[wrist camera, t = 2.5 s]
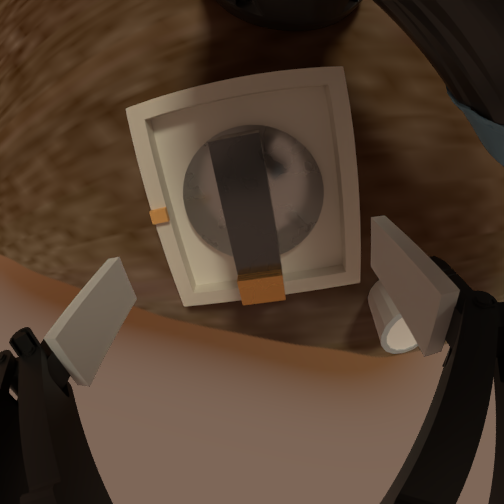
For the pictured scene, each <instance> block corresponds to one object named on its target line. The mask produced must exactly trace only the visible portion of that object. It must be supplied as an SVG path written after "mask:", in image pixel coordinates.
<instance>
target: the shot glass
mask: <svg viewBox="0 0 504 504" xmlns="http://www.w3.org/2000/svg"><path fill="white" fill-rule="evenodd" d="M368 304H369V307H370V310H371V313H372V316H373V320H374V323H375V326H376V329H377V333H378V336H379V339H380V343H381V346H382V347H383V348H384V349H385V351H387V352H390V353H393V354H396V353H404V352H407V351H410V350H412V349H414V348H416V347H417V346H418V344H417V342H416V340H415V339H414V337H413V335H412V333H411V332H410V330H409V328H408V326H407V325H406V323H405V321H404V319H403V318H402V316H401V314H400V313H399V311H398V309H397V307H396V306H395V304H394V303H393V301H392V299H391V298H390V296H389V294H388V293H387V291H386V290H385V288H384V286H383V285H382V283H381V282H380V280H378V281H377V282H376V283H375V284H374V285H373V287H372V288H371V289H370V292H369V295H368Z"/></svg>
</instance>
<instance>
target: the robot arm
mask: <svg viewBox="0 0 504 504" xmlns="http://www.w3.org/2000/svg"><path fill="white" fill-rule="evenodd" d="M216 1H217V2H218V3H219V4H220V5H221V6H222V7H223V8H224V9H226V10H227V11H228V12H230V13H231V14H233V15H235V16H236V17H238V18H240V19H242V20H244V21H247V22H249V23H252V24H255V25H258V26H262V27H266V28H270V29H276V30H286V31H304V30H313V29H318V28H322V27H326V26H329V25H332V24H334V23H336V22H338V21H340V20H342V19H343V18H345V17H346V16H348V15H349V14H350V13H351V12H352V11H353V10H354V9H355V8H356V7H357V6H358V5H359V4H360V2H361V1H362V0H216ZM373 1H374V2H375V3H376V4H377V5H378V6H379V7H380V8H381V9H383V10H384V11H385V12H386V13H387V14H388V15H389V16H390V17H391V18H392V19H393V20H394V21H395V22H396V23H397V24H398V26H399V27H400V28H401V29H402V30H403V31H404V32H405V33H406V34H407V35H408V36H409V37H410V39H411V40H412V41H413V42H414V43H415V44H416V46H417V47H418V48H419V49H420V50H421V52H422V53H423V54H424V55H425V56H426V58H427V59H428V60H429V62H430V63H431V64H432V66H433V67H434V68H435V70H436V71H437V73H438V74H439V75H440V77H441V78H442V80H443V81H444V83H445V84H446V88H447V93H448V95H449V97H450V98H451V100H452V101H453V103H454V104H455V105H456V106H457V107H458V108H459V109H460V110H462V111H463V113H464V114H465V116H466V117H467V119H468V121H469V122H470V124H471V125H472V127H473V129H474V130H475V132H476V134H477V136H478V137H479V139H480V141H481V142H482V144H483V145H484V147H485V148H486V150H487V151H488V152H489V153H490V154H491V156H492V157H493V158H494V159H495V160H496V161H498V162H499V163H500V164H501V165H502V166H503V167H504V0H373ZM371 268H372V269H373V271H374V272H375V274H376V275H377V277H378V278H379V280H380V282H381V283H382V285H383V286H384V288H385V290H386V291H387V293H388V294H389V296H390V298H391V299H392V301H393V303H394V304H395V306H396V307H397V309H398V311H399V313H400V314H401V316H402V318H403V319H404V321H405V323H406V325H407V326H408V328H409V330H410V332H411V333H412V335H413V337H414V339H415V340H416V342H417V344H418V346H419V348H420V350H421V352H422V353H423V355H424V357H425V356H429V355H432V354H435V353H438V352H441V350H442V348H443V345H444V342H445V339H446V341H447V343H448V344H449V346H450V349H449V351H448V353H447V356H446V359H445V361H444V364H443V367H444V368H443V371H442V374H441V377H440V380H439V384H438V386H437V389H436V392H435V395H434V397H433V400H432V403H431V405H430V408H429V411H428V413H427V416H426V418H425V421H424V423H423V425H422V427H421V430H420V432H419V434H418V436H417V438H416V441H415V443H414V445H413V447H412V449H411V451H410V453H409V455H408V457H407V459H406V461H405V463H404V464H403V466H402V468H401V470H400V472H399V473H398V475H397V477H396V479H395V480H394V482H393V484H392V485H391V487H390V489H389V490H388V492H387V494H386V495H385V497H384V498H383V500H382V501H381V503H380V504H456V502H457V500H458V498H459V496H460V493H461V491H462V489H463V487H464V484H465V481H466V479H467V477H468V474H469V471H470V469H471V466H472V463H473V460H474V457H475V454H476V451H477V448H478V445H479V442H480V438H481V435H482V431H483V427H484V423H485V419H486V415H487V410H488V406H489V401H490V395H491V389H492V384H493V377H494V385H495V400H496V447H495V461H494V472H493V479H492V486H491V493H490V498H489V504H504V302H497V301H496V299H495V298H494V297H493V296H492V295H490V294H489V293H486V292H483V291H473V290H472V289H471V288H470V287H469V286H468V285H467V284H466V283H465V281H464V280H463V279H462V278H461V277H460V276H459V275H458V274H456V272H455V271H454V270H453V269H451V267H450V266H449V265H448V264H447V263H446V262H445V261H443V260H441V259H440V258H438V257H436V256H432V257H428V256H427V255H426V254H425V253H424V252H423V251H422V250H421V249H420V248H419V247H418V246H417V245H416V244H415V243H414V242H413V241H412V240H411V239H410V238H409V237H408V236H407V235H406V234H405V233H404V232H403V231H401V230H400V229H399V228H398V227H397V226H396V225H395V224H394V223H393V222H392V221H390V220H389V219H388V218H387V217H386V216H385V215H384V216H376V217H371ZM136 299H137V298H136V296H135V293H134V291H133V289H132V286H131V284H130V282H129V279H128V277H127V275H126V272H125V270H124V267H123V265H122V262H121V260H120V257H116V258H111V259H108V260H107V261H106V262H105V263H104V265H103V266H102V267H101V268H100V269H99V270H98V271H97V272H96V274H95V275H94V276H93V277H92V278H91V279H90V280H89V282H88V283H87V284H86V285H85V286H84V288H83V289H82V290H81V291H80V292H79V294H78V295H77V296H76V297H75V298H74V300H73V301H72V302H71V303H70V305H69V306H68V307H67V308H66V310H65V311H64V312H63V313H62V315H61V316H60V317H59V318H58V320H57V321H56V322H55V324H54V325H53V326H52V328H51V329H50V330H49V332H48V333H47V335H46V336H45V337H44V339H43V341H42V342H41V344H40V343H39V341H38V340H37V338H36V337H35V335H34V334H33V332H32V330H31V329H30V328H29V327H25V328H22V329H20V330H19V331H18V332H16V333H15V334H14V335H13V336H12V338H11V339H10V342H9V343H10V345H11V346H12V348H13V349H14V351H15V352H16V353H17V355H18V356H19V357H17V358H15V357H14V356H13V354H12V353H11V351H9V350H4V351H3V352H0V504H113V503H112V501H111V499H110V497H109V495H108V492H107V490H106V488H105V486H104V484H103V481H102V479H101V477H100V474H99V472H98V470H97V467H96V465H95V462H94V459H93V457H92V454H91V451H90V448H89V446H88V443H87V440H86V437H85V434H84V430H83V427H82V424H81V421H80V417H79V414H78V410H77V406H76V402H75V398H74V394H73V390H72V387H71V385H70V383H69V382H68V379H69V377H70V376H71V377H72V378H73V380H74V381H75V382H76V383H77V385H82V386H90V385H91V383H92V381H93V379H94V377H95V375H96V373H97V371H98V369H99V367H100V365H101V363H102V361H103V359H104V357H105V355H106V353H107V351H108V350H109V348H110V346H111V344H112V342H113V340H114V338H115V336H116V334H117V333H118V331H119V329H120V327H121V326H122V324H123V322H124V320H125V318H126V317H127V315H128V313H129V311H130V310H131V308H132V306H133V304H134V303H135V301H136ZM10 388H11V389H12V390H13V392H14V393H15V394H16V395H17V396H18V399H17V400H15V399H14V398H13V397H12V396H11V395H10V393H9V389H10Z"/></svg>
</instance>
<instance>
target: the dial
mask: <svg viewBox="0 0 504 504" xmlns="http://www.w3.org/2000/svg"><path fill="white" fill-rule="evenodd" d="M323 199H324V186H323V180H322V176H321V173H320V169H319V167H318V165H317V163H316V161H315V159H314V158H313V156H312V155H311V153H310V152H309V151H308V150H307V148H306V147H305V146H304V145H303V144H302V143H300V142H299V141H298V140H297V139H296V138H294V137H292V136H291V135H289V134H288V133H286V132H283V131H281V130H279V129H276V128H273V127H269V126H264V125H242V126H237V127H233V128H230V129H227V130H225V131H222V132H220V133H219V134H217V135H215V136H213V137H212V138H211V139H209V140H208V141H207V142H205V143H204V144H203V145H202V146H201V147H200V149H199V150H198V151H197V152H196V154H195V155H194V156H193V158H192V160H191V162H190V163H189V165H188V168H187V171H186V174H185V178H184V183H183V201H184V206H185V210H186V213H187V216H188V218H189V220H190V222H191V224H192V226H193V227H194V229H195V230H196V232H197V233H198V234H199V235H200V236H201V238H202V239H204V240H205V241H206V242H207V243H208V244H209V245H211V246H212V247H214V248H215V249H217V250H219V251H220V252H222V253H225V254H227V255H230V256H233V257H234V261H235V266H236V270H237V274H238V278H237V284H238V288H239V292H240V296H241V300H242V304H243V305H250V304H258V303H266V302H274V301H281V300H286V297H285V288H284V280H283V272H282V264H281V256H280V255H281V254H283V253H285V252H287V251H289V250H291V249H292V248H294V247H296V246H297V245H298V244H299V243H301V242H302V241H303V240H304V239H305V238H306V237H307V236H308V235H309V233H310V232H311V231H312V229H313V228H314V226H315V224H316V223H317V221H318V218H319V216H320V213H321V210H322V206H323Z"/></svg>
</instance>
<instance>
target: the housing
mask: <svg viewBox="0 0 504 504" xmlns="http://www.w3.org/2000/svg"><path fill="white" fill-rule="evenodd" d="M126 113H127V118H128V122H129V127H130V131H131V136H132V140H133V144H134V148H135V152H136V157H137V160H138V164H139V168H140V172H141V176H142V180H143V183H144V187H145V190H146V194H147V197H148V201H149V204H150V208H151V211H150V212H149V213H150V216H151V219H152V223H153V224H156V227H157V231H158V234H159V237H160V240H161V243H162V246H163V249H164V252H165V255H166V258H167V261H168V264H169V267H170V270H171V272H172V275H173V278H174V281H175V284H176V286H177V289H178V292H179V294H180V297H181V300H182V302H183V305H184V307H185V306H195V305H204V304H214V303H223V302H231V301H240V300H241V296H240V292H239V288H238V284H237V278H238V274H237V270H236V266H235V261H234V257H233V256H230V255H227V254H225V253H222V252H220V251H219V250H217V249H215V248H214V247H212V246H211V245H209V244H208V243H207V242H206V241H205V240H204V239H202V238H201V236H200V235H199V234H198V233H197V232H196V230H195V229H194V227H193V226H192V224H191V222H190V220H189V218H188V216H187V213H186V210H185V206H184V201H183V183H184V178H185V174H186V171H187V168H188V165H189V163H190V162H191V160H192V158H193V156H194V155H195V154H196V152H197V151H198V150H199V149H200V147H201V146H202V145H203V144H204V143H205V142H207V141H208V140H209V139H211V138H212V137H213V136H215V135H217V134H219V133H220V132H222V131H225V130H227V129H230V128H233V127H237V126H242V125H264V126H269V127H273V128H276V129H279V130H281V131H283V132H286V133H288V134H289V135H291V136H292V137H294V138H296V139H297V140H298V141H299V142H300V143H302V144H303V145H304V146H305V147H306V148H307V150H308V151H309V152H310V153H311V155H312V156H313V158H314V159H315V161H316V163H317V165H318V167H319V169H320V173H321V176H322V180H323V186H324V199H323V206H322V210H321V213H320V216H319V218H318V221H317V223H316V224H315V226H314V228H313V229H312V231H311V232H310V233H309V235H308V236H307V237H306V238H305V239H304V240H303V241H302V242H301V243H299V244H298V245H297V246H296V247H294V248H292V249H291V250H289V251H287V252H285V253H283V254H281V255H280V256H281V264H282V272H283V280H284V288H285V294H292V293H299V292H306V291H312V290H319V289H325V288H331V287H337V286H343V285H349V284H355V283H360V271H361V233H360V203H359V185H358V172H357V160H356V150H355V140H354V132H353V124H352V116H351V109H350V103H349V96H348V90H347V85H346V79H345V74H344V69H343V66H336V67H316V68H302V69H292V70H283V71H275V72H267V73H260V74H254V75H248V76H242V77H237V78H232V79H227V80H222V81H217V82H213V83H209V84H204V85H200V86H196V87H192V88H189V89H185V90H181V91H178V92H174V93H171V94H168V95H164V96H161V97H158V98H155V99H152V100H149V101H146V102H143V103H140V104H137V105H134V106H132V107H129V108H126Z"/></svg>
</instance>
